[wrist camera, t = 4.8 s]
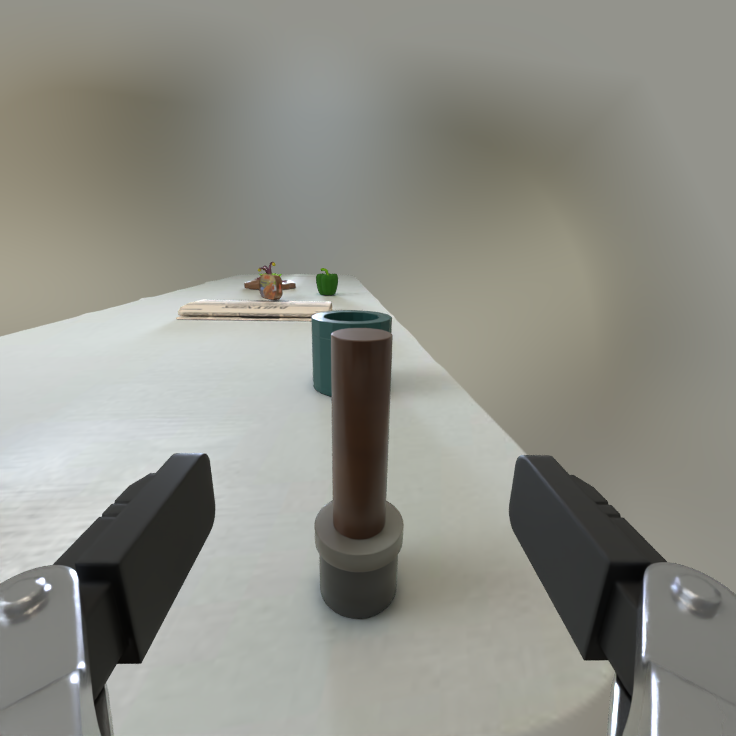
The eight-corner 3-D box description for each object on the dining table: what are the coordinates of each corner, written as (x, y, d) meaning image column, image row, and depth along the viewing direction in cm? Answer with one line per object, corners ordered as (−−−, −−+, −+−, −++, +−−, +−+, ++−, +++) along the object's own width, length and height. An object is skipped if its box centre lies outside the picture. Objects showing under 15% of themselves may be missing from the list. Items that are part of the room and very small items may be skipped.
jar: (393, 376, 53) (396, 312, 51) (381, 402, 44) (384, 325, 41) (326, 370, 55) (326, 308, 52) (302, 394, 46) (299, 320, 43)
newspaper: (332, 309, 111) (332, 299, 111) (328, 321, 93) (327, 309, 92) (205, 307, 110) (204, 297, 109) (175, 319, 92) (174, 307, 91)
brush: (404, 559, 22) (418, 327, 18) (393, 631, 18) (408, 350, 14) (330, 546, 22) (327, 321, 18) (303, 612, 18) (292, 341, 14)
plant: (268, 291, 156) (266, 262, 152) (238, 287, 166) (235, 261, 163) (302, 287, 171) (301, 262, 168) (272, 284, 182) (271, 260, 179)
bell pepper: (342, 294, 148) (342, 268, 145) (328, 296, 141) (328, 269, 138) (327, 293, 152) (326, 267, 149) (312, 294, 146) (311, 268, 143)
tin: (258, 296, 138) (257, 272, 135) (267, 296, 139) (265, 272, 137) (276, 301, 126) (274, 275, 124) (284, 300, 128) (283, 275, 125)
